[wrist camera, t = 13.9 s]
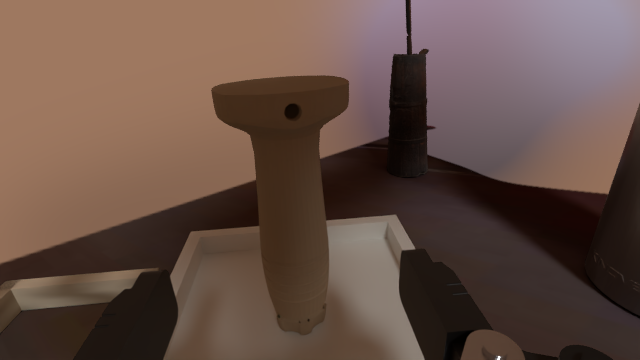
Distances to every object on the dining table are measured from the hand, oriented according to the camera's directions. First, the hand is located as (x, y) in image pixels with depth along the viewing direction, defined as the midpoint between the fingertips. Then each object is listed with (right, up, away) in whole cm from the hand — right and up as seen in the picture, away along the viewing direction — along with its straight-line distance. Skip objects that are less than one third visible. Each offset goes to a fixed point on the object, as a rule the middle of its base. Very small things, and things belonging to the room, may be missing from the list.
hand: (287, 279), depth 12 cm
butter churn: (+14, +5, +35) cm, 38 cm away
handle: (0, -6, +11) cm, 12 cm away
